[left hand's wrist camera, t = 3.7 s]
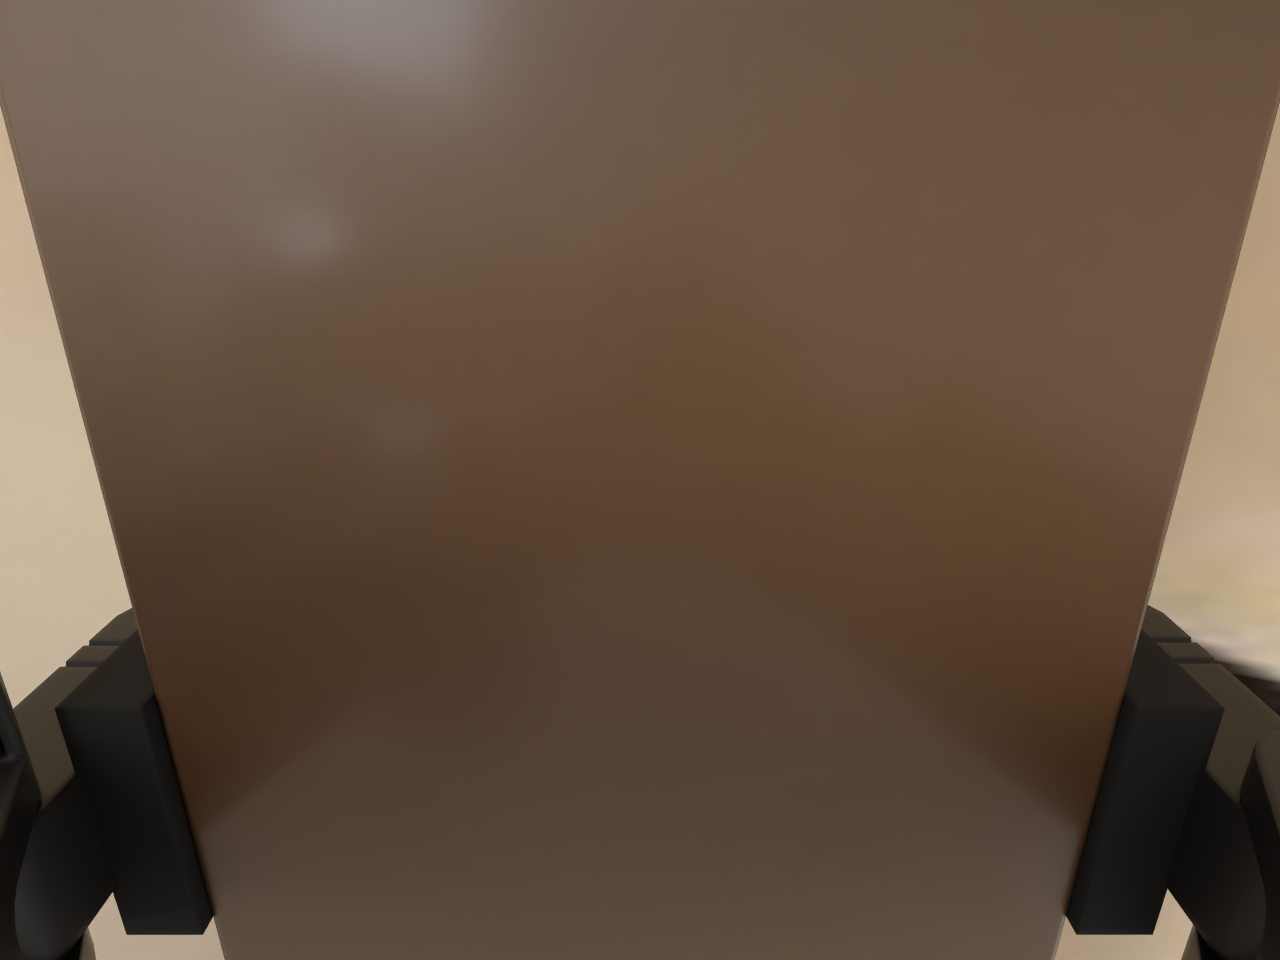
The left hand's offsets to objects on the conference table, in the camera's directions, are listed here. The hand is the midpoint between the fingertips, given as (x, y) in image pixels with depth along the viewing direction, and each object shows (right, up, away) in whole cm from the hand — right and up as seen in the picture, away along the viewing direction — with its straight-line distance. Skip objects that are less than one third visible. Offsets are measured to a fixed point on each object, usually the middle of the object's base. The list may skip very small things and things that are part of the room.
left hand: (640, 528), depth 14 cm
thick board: (0, +24, -9) cm, 26 cm away
